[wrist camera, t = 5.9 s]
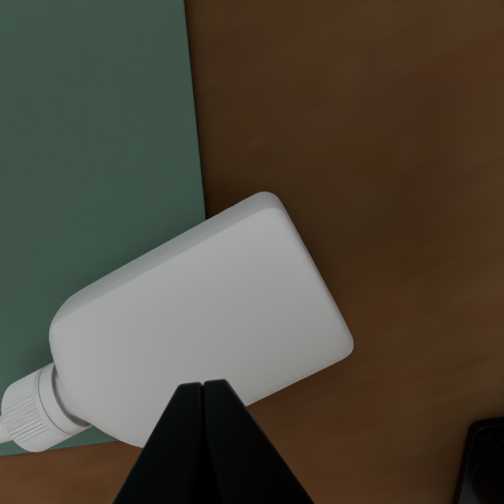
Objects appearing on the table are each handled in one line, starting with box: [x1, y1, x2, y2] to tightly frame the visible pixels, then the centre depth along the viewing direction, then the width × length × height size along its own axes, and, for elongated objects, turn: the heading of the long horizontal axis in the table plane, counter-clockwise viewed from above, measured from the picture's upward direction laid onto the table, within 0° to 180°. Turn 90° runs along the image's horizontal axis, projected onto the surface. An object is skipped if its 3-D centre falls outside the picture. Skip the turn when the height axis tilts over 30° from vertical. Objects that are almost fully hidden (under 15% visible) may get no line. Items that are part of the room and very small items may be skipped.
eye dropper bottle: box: [0, 192, 354, 452], centre depth 15 cm, size 4×6×12 cm
